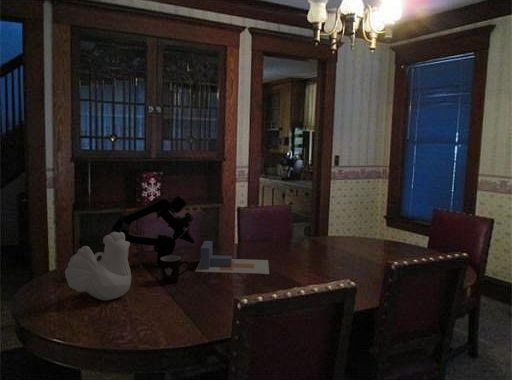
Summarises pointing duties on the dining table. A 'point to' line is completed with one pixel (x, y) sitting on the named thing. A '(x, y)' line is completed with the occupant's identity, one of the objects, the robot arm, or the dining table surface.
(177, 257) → the coffee mug
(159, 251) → the robot arm
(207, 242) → the t block
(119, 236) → the decorative rooster
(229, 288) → the dining table surface
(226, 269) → the t mat
